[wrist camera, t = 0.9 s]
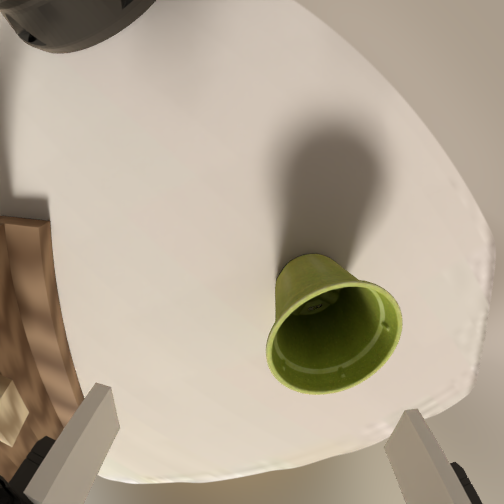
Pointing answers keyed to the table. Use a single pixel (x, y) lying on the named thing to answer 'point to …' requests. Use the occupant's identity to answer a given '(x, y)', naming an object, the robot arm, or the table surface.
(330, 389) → the plant pot
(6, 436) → the plain block
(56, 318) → the digit board
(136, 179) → the table surface
